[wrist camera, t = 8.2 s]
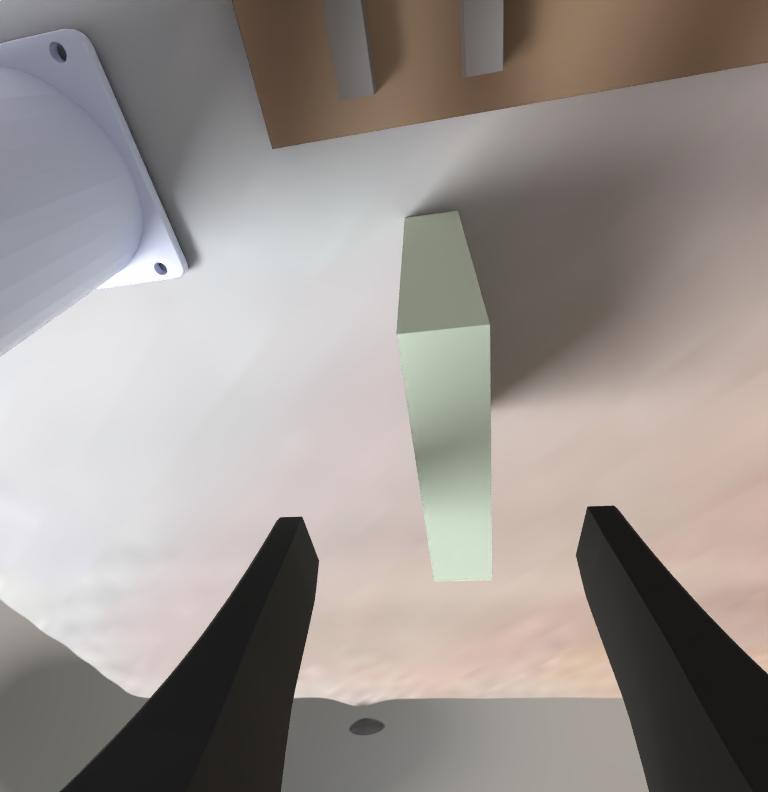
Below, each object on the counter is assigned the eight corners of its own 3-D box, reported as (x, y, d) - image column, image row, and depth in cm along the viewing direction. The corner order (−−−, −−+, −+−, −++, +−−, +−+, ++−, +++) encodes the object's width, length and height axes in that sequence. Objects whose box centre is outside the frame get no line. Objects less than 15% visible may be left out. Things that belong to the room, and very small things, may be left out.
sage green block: (428, 417, 23) (434, 581, 15) (404, 217, 17) (396, 334, 10) (467, 414, 22) (491, 579, 15) (457, 210, 16) (489, 324, 9)
